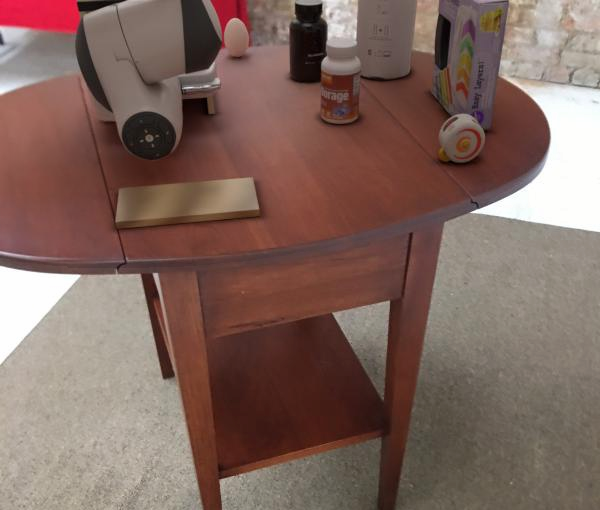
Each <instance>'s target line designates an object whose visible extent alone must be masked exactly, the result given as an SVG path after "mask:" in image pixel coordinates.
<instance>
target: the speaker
mask: <svg viewBox="0 0 600 510" xmlns="http://www.w3.org/2000/svg"><path fill="white" fill-rule="evenodd" d="M417 9H418V0H357V13H356V35H355V41H356V42H357V53H356V55H355V56H356V57H357V58H358V59H359V60H360V62H361V76H360V77H363V78H365V79H371V80H374V81H375V80H377V81H390V80H391V81H392V80H397V79H401V78H404V77H406V76H408V75H409V74H410V72H411V67H412V66H411V65H412V57H413V49H414V47H413V46H414V38H415V28H416V19H417V18H416V17H417Z"/></svg>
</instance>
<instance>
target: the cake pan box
mask: <svg viewBox="0 0 600 510" xmlns="http://www.w3.org/2000/svg"><path fill="white" fill-rule="evenodd" d="M509 8H510V1H509V0H438V8H437V12H438V15H437V20H436V27H435V33H434V35H435V36H434V64H433V69H432V79H431V89H430V92H431V93H430V94H432V95H433V96H434V98H435V99H436V100H437V101H438V103H439V104H440V105H441V106H442V107H443V109H444V110H445V111H446V112H447V113H448V115H449V116H450V118H451V117H453V116H455V115H458V114H468V115H471V116H472V117H474V118H475V120H476V121H477V122H478V123H479V125H480V126H481V128H482V129H483V131H484V132H486V131H490V128H491V126H492V120H493V119H492V118H493V112H494V106H495V99H496V93H497V87H498V86H497V85H498V81H499V74H500V68H501V67H500V66H501V61H502V60H501V59H502V54H503V49H504V41H505V34H506V33H505V32H506V29H507V21H508V14H509Z"/></svg>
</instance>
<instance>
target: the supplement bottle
mask: <svg viewBox="0 0 600 510" xmlns="http://www.w3.org/2000/svg"><path fill="white" fill-rule="evenodd" d="M323 6H324V3H323V0H295V1H294V11H293V12H294V15H295V17H294V18H292V20H291V21H290V23H289V26H288V28H289V29H288V39H289V40H288V41H289V43H288V44H289V46H288V47H289V75H290V77H291V78H292V79H293V80H295V81H297V82H303V83H312V82H313V83H315V82H318V81H321V64H322V61H323V59H324V58H325V57H327V56H328V54H327V53H326V42H327V41H328V40H329V39H328V37H329V25H328V23H327V21H326V19H325V18H323V17H322V15H323V14H324V10H323V9H324V7H323Z"/></svg>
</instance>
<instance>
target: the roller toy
mask: <svg viewBox="0 0 600 510" xmlns="http://www.w3.org/2000/svg"><path fill="white" fill-rule="evenodd" d="M485 142H486V136H485V131H483V129H482V128H481V126H480V125H479V123H478V122H477V121H476V120H475V118H474V117H472V116H471V115H468V114H458V115H455V116H453V117H451V116H450V117H449V118H448V119H447V120H445V121H444V123H443V124H442V125H441V127H440V130H439V133H438V143H439V147H440V149H439V151H438V158H439V160H440V161H441V162H444V163H448V162H450V161H451V162H453V163H457V164H464V163H468V162H470V161H472V160H474V159H475V158H476V157H477V156H478V155H480V153H481V151H482V150H483V148H484V145H485Z"/></svg>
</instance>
